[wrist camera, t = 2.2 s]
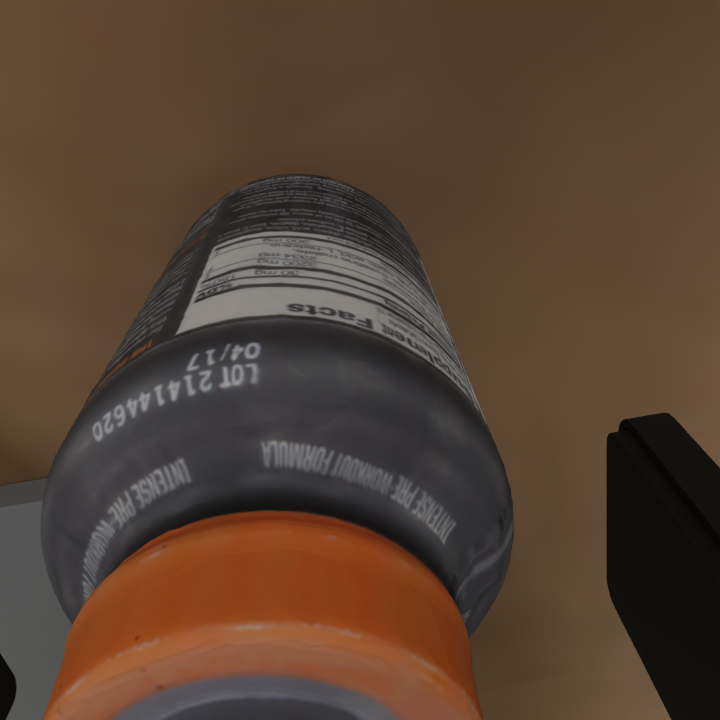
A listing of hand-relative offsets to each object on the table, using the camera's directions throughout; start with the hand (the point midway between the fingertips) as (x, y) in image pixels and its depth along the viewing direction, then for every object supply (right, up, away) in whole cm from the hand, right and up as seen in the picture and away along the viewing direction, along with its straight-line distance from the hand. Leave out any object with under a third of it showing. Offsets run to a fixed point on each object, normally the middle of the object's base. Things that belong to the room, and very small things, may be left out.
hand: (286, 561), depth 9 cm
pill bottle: (0, +5, +7) cm, 8 cm away
